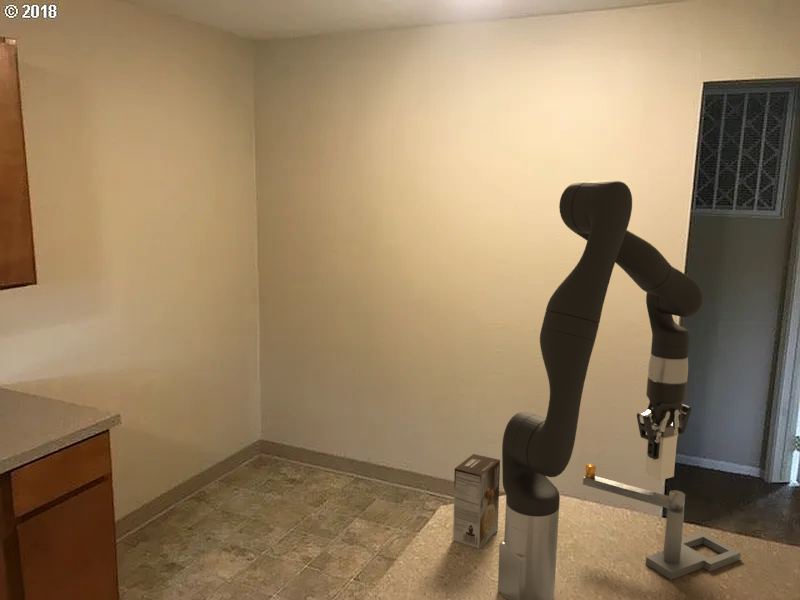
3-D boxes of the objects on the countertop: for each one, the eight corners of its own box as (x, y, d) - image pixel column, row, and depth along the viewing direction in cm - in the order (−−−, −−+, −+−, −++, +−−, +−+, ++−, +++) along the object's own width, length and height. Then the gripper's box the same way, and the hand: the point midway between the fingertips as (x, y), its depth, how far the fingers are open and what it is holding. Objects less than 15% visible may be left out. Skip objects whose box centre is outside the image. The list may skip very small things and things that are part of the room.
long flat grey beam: (685, 507, 130) (687, 488, 129) (681, 513, 127) (683, 493, 127) (587, 480, 141) (588, 462, 140) (582, 485, 139) (583, 466, 138)
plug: (660, 480, 140) (664, 429, 138) (644, 473, 143) (648, 423, 141) (673, 476, 142) (678, 426, 140) (658, 469, 145) (662, 420, 143)
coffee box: (471, 522, 148) (473, 452, 145) (498, 530, 144) (501, 459, 142) (451, 541, 140) (453, 467, 137) (480, 550, 137) (482, 475, 134)
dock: (677, 584, 126) (682, 525, 124) (639, 560, 134) (644, 504, 132) (740, 559, 134) (746, 503, 132) (701, 538, 142) (706, 485, 140)
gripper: (676, 367, 145) (669, 443, 148) (628, 376, 139) (622, 455, 142) (706, 377, 139) (699, 456, 142) (657, 386, 132) (650, 469, 135)
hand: (660, 455), depth 142 cm, fingers closed on plug, 4 cm apart
